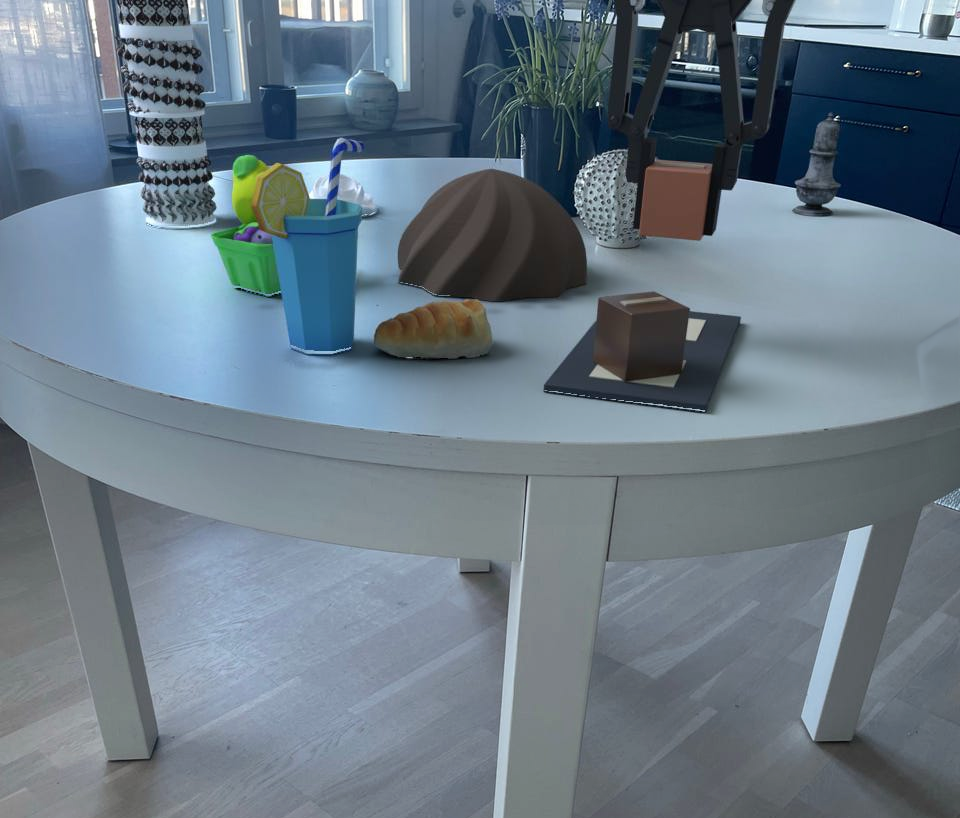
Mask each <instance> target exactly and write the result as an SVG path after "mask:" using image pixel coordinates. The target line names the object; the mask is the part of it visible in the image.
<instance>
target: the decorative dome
mask: <svg viewBox="0 0 960 818" xmlns="http://www.w3.org/2000/svg"><path fill="white" fill-rule="evenodd" d="M587 258H588V257H587V251H586V245H585V243H584V239H583V237H582V234H581V232H580V230H579V228H578V226H577V224H576V223H575V221H574V220H573V218H572V216H571V215H570V214H569V213H568V211H567V209H565V208H564V207H563V206H562V204H561V203H560V202H559V201H557V199H555V197H554V196H552V195H551V194H550V193H549V192H548V191H547V190H546V189H544V188H543V187H542V186H540V185H538V184H536V183H535V182H534V181H531V180H529V179H528V178H525V177H523V176H520V175H518V174H515V173H511V172H509V171H504V170H500V169H495V168H487V169H481V170H478V171H477V170H476V171H474V172H471V173H467V174H464V175H462V176H459V177H457V178H454V179H453V180H451V181H448V182H447V183H446V184H444V185H442V186H441V187H440V188H438V189H437V190H436V191H435V192H434V193H433V194H432V195H431V196H430V197H429V198H428V199H427V200H426V202H425V203H424V205H423V206H422V208H421V210H420V211H419V212H418V213H417V214H416V215H415V216H414V217H413V218H412V220H410V222H409V224H408V225H407V226H406V227H405V229H404V231H403V233H402V234H401V236H400V239H399V242H398V247H397V266H398V269H399V268H400V269H401V270H402V271H401V270H400V269H399V270H400V274H399V277H398V279H397V283H398V284H402V285H405V286H410V287H415V288H420V289H422V290H424V291H425V292H427V293H428V294H430V295H432V296H434V297H439V296H438V295H450V296H444V297H449V298H451V297H452V298H471V299H478V300H481V301H482V300H483V301H488V302H496V303H498V302H506V301H512V300H517V299H522V298H523V299H524V298H556V297H559V296H561V294H563V292H564V291H565V290H567V289H571V288H575V287H579V286H585V285H586V284H587V275H588V259H587ZM398 281H399V282H398ZM400 282H403V283H400ZM404 283H408V284H404ZM409 284H413V285H409ZM414 285H417V286H414ZM418 286H422V287H424V288H425V289H427V290H428V291H430V292H432V293H434V294H437V295H433V294H431V293H430V292H428V291H427V290H425V289H424V288H422V287H418ZM475 297H476V298H475Z"/></svg>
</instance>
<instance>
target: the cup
mask: <svg viewBox="0 0 960 818" xmlns="http://www.w3.org/2000/svg"><path fill="white" fill-rule="evenodd" d="M364 149H365V145H364V143H363V142H362V141H360V140H355V139H350V138H344V137H339V138H337V139H336V141H335V143H334V144H333V148H332V150H331V157H330V166H329V174H328V175H329V184H328V194H327V199H310V197H309V194H310V193H309V191H308V188H307V186H306V183H305V179H304V176H303V173H302V172H301V171H298V170H297V169H295V168H292V167H290V166H287V165H285V164H282V163H279V162H275V163H274V164H273V165H272V166H270V167H268V168H269V169H267V170H266V171H265V172H263V173H262V174H261V175H259V176H258V177H257V181H256V186H255V190H254V194H253V198H252V203H251V207H252V209H253V212H254V215H255V217H256V220H257V222H258V225H259V228H260V230H261V231H264V232H266V233H269V234H271V235H272V241H273V246H274V252H275V258H276V264H277V270H278V276H279V282H280V287H281V298H282V305H283V311H284V317H285V322H286V328H287V333H288V334H287V335H288V339H289V346H290V345H293V346H296V347H298V348H301V349H304V350H314V351H336V350H339V349H344V348H345V349H346V348H349V347H352V348H351V349H349V350H345V351H341V352H337V353H334V354H306V353H303V352H301V351H298V350H295V349H293V348H291V347H290V349H291V350H293V351H296V352H299V353H301V354H304V355H307V356H334V355H337V354H341V353H346V352H349V351H352V349H353V346H354V343H355V321H356V320H355V318H356V295H357V294H356V291H357V270H358V269H357V266H358V244H359V243H358V239H359V227H360V225H361V222H362V218H363V217H362V206H361V205H359V204H355V203H351V202H347V201H342V200H338V199H337V196H338V187H339V178H340V174H341V167H342V160H343V158H342V157H343V154H344V151H345V152H353V153H362V152H363V151H364ZM353 341H354V342H353ZM352 344H353V345H352Z"/></svg>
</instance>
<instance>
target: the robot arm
mask: <svg viewBox="0 0 960 818" xmlns="http://www.w3.org/2000/svg"><path fill="white" fill-rule="evenodd" d="M612 1H613V7H614V11H615V16H616V22H615V23H616V24H615V33H614V45H613V55H612V65H611V76H610V87H609V97H608V107H607V116H606V117H607V118H606V123H607V126H608V127H609V128H610V129H612V130H616V131H618V132H620V133H622V134H624V135H625V136H626V138H627V140H628V146H627V156H626V165H625V166H626V167H625V174H624V175H625V179H626V183H631V184H637V185H636V186H637V187H636V194H635V205H634V215H633V223H632V229H633V230H640V220H641V211H642V202H643V192H644V183H645V173H646V168H648V167H649V166H650V165H651V164H653V163H654V162H655V161H656V151H657V142H658V138H657V137H648V134H649V133H650V131H651V129H650V128H651V126H652V122H653V119H654V117H655V113H656V111H657V108H658V106H659V105H658V104H659V102H660V99H661V96H662V93H663V90H664V88H665V84H666V81H667V78H668V75H669V72H670V70H671V67H672V63H673V61H674V58H675V55H676V52H677V49H678V46H679V44H680V42H681V40H682V37H683V35H684V33H688V32H692V31H695V30H699V31H703V32H705V33H708V34H714V39H715V46H716V52H717V63H718V64H717V65H718V74H719V83H720V84H719V85H720V96H721V105H722V106H721V107H722V117H723V127H724V128H723V129H724V138H725V140H724V142H723V141H722V142H721V141H718V142H717V144H716V145H714V148H713V154H712V162H711V164H712V170H711V179H710V187H709V194H708V201H707V208H706V215H705V223H704V230H703V235H704V236H706V237H713V235H714V233H715V232H716V231H717V226H718V225H717V224H718V218H719V212H720V211H719V210H720V203H721V197H722V191H733V190H734V187H735V186H736V184H737V182H738V177H739V171H740V170H739V169H740V163H741V157H742V152H743V151H742V150H743V146H744V145H745V144H746V143H748V142H751V141H754V140H759V139H762V138H764V136H765V135H766V134H767V133H768V131H769V129H770V125H771V118H772V111H773V104H774V97H775V91H776V86H777V85H776V84H777V78H778V72H779V64H780V58H781V52H782V45H783V39H784V31H785V26H786V22H787V21H788V18H789V16H790V14H791V12H792V10H793V8H794V5H795V4H796V1H797V0H762V4H761V5H762V6H761V10H762V13H763V14H764V15H765V16H767V20H766V22H765V28H764V31H763V32H764V34H763V39H762V46H761V47H762V48H761V54H760V60H759V67H758V76H757V83H756V89H755V96H754V103H753V110H752V117H751V121H749V122H748V121H747V122H744V121H745V120H744V112H743V111H744V109H743V99H742V87H741V85H742V84H741V73H740V60H739V51H738V50H739V49H738V48H739V47H738V27H737V20H738V19H739V18H740V17H741V15H743V13H744V11H745V10H746V9H747V8H748V6H749V5H750V4H751V3H752V1H753V0H655V1H656V3H657V5H658V7H659V9H660V11H661V13H662V16H663V17H664V18H663V22H662V25H661V28H660V31H659V34H658V38H657V42H656V47H655V49H654V52H653V55H652V58H651V62H650V64H649V67H648V71H647V73H646V75H645V80H644V83H643V85H642V89H641V92H640V95H639V98H638V101H637V104H636V107H635V110H634V112H633V114H631V113H629V112H630V103H631V93H632V84H633V77H634V75H633V74H634V65H635V55H636V46H637V38H638V37H637V36H638V29H639V11H640V10H642V9H643V8H644V6H645V3H646V0H612Z"/></svg>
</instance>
